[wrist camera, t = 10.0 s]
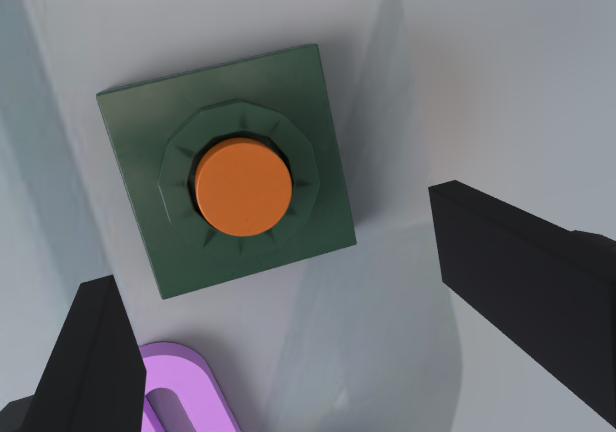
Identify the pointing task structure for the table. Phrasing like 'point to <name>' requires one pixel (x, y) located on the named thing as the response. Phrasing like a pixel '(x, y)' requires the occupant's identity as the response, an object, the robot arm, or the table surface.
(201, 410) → the bracket
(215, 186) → the button
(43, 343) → the table surface
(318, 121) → the switchbox
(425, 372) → the table surface
